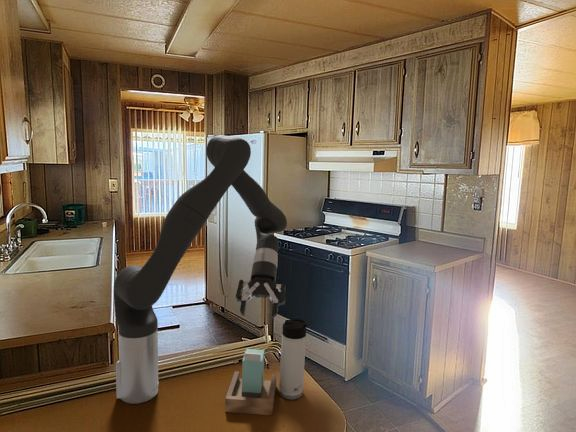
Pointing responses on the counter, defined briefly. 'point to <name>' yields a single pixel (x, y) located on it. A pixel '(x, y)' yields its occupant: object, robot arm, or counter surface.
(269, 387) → the wooden tray
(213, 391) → the counter surface
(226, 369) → the counter surface
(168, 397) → the counter surface
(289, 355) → the travel mug
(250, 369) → the mint green block
